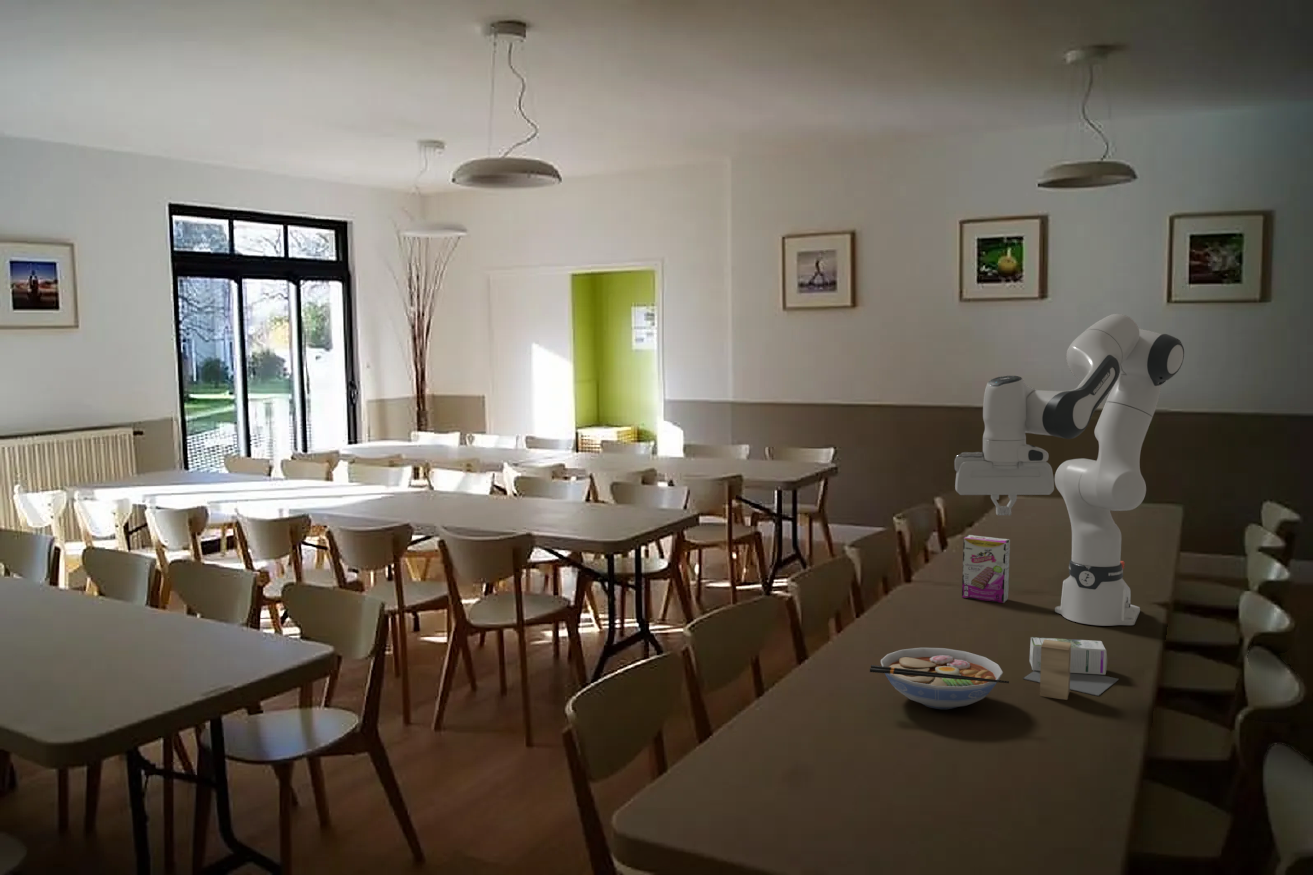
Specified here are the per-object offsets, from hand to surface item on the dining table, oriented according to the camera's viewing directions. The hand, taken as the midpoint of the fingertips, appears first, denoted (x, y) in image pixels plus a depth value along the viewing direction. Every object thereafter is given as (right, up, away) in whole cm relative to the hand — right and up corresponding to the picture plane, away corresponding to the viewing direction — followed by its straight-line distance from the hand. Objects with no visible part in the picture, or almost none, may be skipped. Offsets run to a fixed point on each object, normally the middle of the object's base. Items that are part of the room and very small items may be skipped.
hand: (1003, 514), depth 221 cm
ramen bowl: (-21, -35, -24) cm, 47 cm away
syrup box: (+4, -29, -5) cm, 30 cm away
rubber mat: (+10, -33, -12) cm, 36 cm away
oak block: (+3, -34, -20) cm, 39 cm away
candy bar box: (+12, -26, +49) cm, 57 cm away
